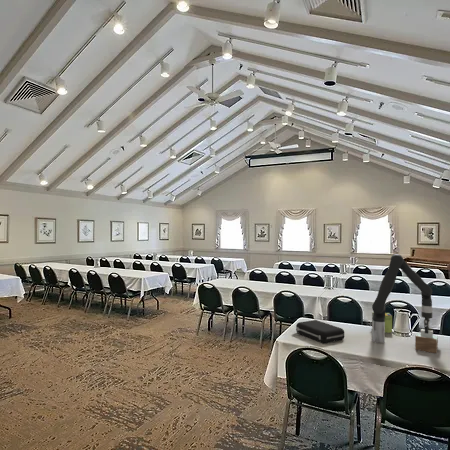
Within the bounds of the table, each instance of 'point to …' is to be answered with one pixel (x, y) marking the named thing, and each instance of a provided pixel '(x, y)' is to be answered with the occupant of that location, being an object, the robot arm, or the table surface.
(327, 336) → the briefcase
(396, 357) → the table surface
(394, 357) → the table surface
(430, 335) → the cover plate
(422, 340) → the walnut box
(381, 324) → the robot arm
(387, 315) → the protein box
